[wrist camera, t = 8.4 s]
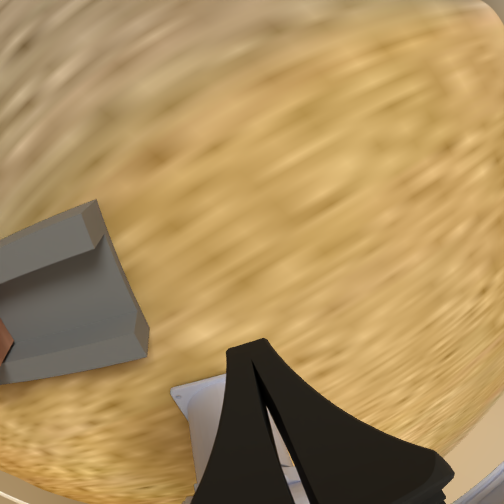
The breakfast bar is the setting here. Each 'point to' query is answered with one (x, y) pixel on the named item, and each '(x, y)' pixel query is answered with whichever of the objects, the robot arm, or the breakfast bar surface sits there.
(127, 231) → the breakfast bar surface
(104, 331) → the chute
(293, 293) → the breakfast bar surface
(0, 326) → the block
